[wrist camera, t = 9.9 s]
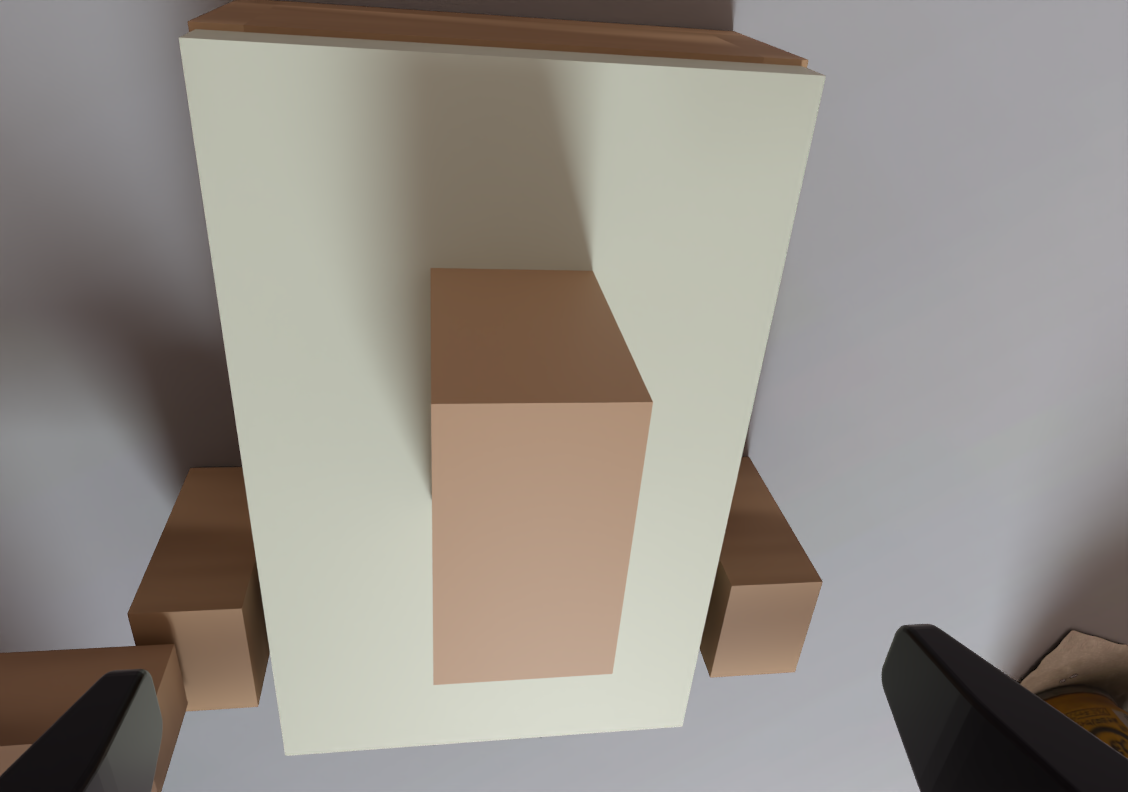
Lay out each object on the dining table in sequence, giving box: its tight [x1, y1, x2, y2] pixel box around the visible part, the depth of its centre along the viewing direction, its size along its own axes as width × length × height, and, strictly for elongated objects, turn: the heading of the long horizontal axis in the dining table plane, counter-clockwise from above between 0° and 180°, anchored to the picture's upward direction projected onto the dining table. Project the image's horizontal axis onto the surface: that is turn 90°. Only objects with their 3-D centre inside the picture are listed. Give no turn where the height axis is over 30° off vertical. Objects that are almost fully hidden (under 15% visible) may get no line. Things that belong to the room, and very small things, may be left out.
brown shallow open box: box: [128, 0, 822, 711], centre depth 18 cm, size 16×15×5 cm
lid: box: [179, 29, 826, 756], centre depth 15 cm, size 16×10×6 cm, turn 176°
